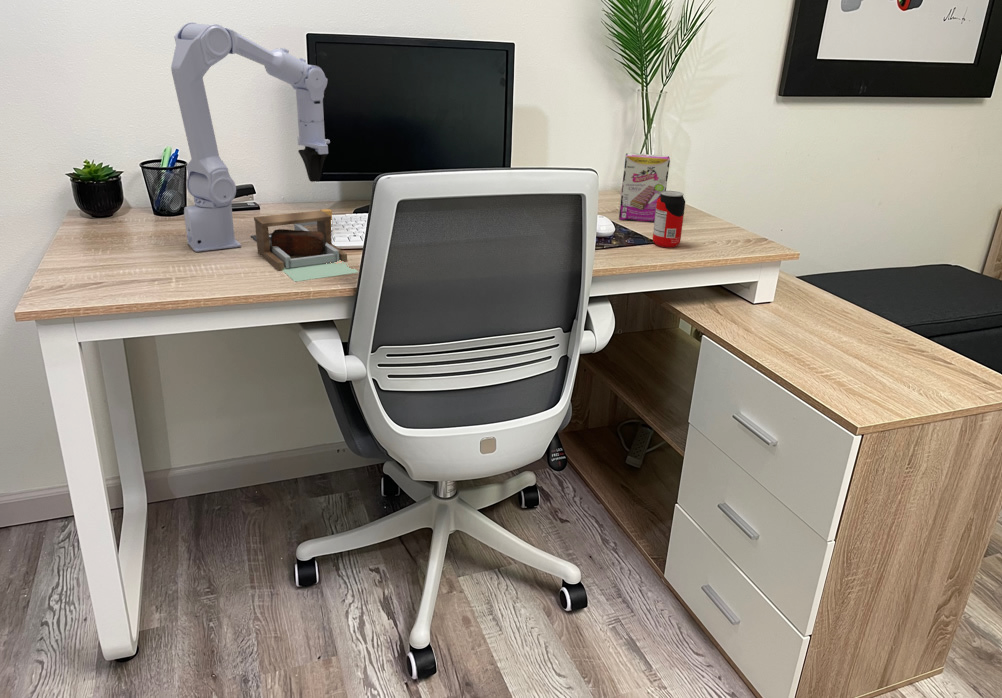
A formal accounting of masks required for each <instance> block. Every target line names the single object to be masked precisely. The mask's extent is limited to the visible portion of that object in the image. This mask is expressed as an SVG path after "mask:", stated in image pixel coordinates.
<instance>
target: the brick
mask: <svg viewBox="0 0 1002 698" xmlns="http://www.w3.org/2000/svg"><path fill="white" fill-rule="evenodd" d="M271 233H272V234H271V243H272V244H271V246H277V247H279V248H280V249H281V250H282V251H284V252H285V253H286V254H287V255H289V256H290V257H291V256H292V257H293V256H294V257H309V256H317V255H324V254H323V253H324V252H325V244H326V238H325V236H324V234H323V233H322V232H319V231H317V230H309V231H301V230H300V231H297V230H294V229H287V228H286V229H281V228H279V229H274V230H273V232H271Z"/></svg>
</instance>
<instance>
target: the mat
mask: <svg viewBox="0 0 1002 698" xmlns="http://www.w3.org/2000/svg"><path fill="white" fill-rule="evenodd" d="M331 263H332V264H331ZM331 263H327V264H326V263H323V264H315V265H308V266H301V267H293V268H285V267H284V270H281V271H282V272H283V273H284V274H285V275H286V274H287V277H288V278H290V279H291V280H292V281H293V282H295V283H297V282H298V281H299V282H304V281H311V279H312V280H318V279H325V278H333V277H337V276H339V277H340V276H346V275H352V274H358V271H359V270H358V269H356V268H354V269H351V268H349V266H348V267H347V265H348V264H349V263H347V262H346V263H347V265H346V263H344V262H342V264H341V263H338V264H336V263H334V262H331ZM343 263H344V264H343ZM340 264H341V265H340Z"/></svg>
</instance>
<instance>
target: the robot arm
mask: <svg viewBox="0 0 1002 698" xmlns="http://www.w3.org/2000/svg"><path fill="white" fill-rule="evenodd" d="M174 41H175V42H174V43H175V49H174V52H173V57H172V62H171V66H170V71H171V76H172V79H173V83H174V87H175V91H176V98H177V101H178V106H179V111H180V115H181V119H182V124H183V127H184V132H185V137H186V140H187V145H188V150H189V153H190V158H191V159H190V161H189V162H188V163H187V165H186V170H187V171H186V172H187V178H186V181H185V183H186V189H187V192H188V193H189V195H191V196H192V197H193V202H194V204H193V205H189V206H185V207H184V208H183V209H184V210H183V215H184V223H185V224H184V225H185V231H186V243H187V244H188V246H189V247H190V248H191V249H192V250H193V251H194V252H196V253H198V252H206V251H214V250H222V249H231V248H240V247H242V244H241V243H240V242H239V241H238V240H237V239H236V238H235V237H236V236H235V230H234V229H235V228H234V220H233V209H232V205H233V204H232V203H233V200H234V199H235V198H236V194H237V185H236V183H235V181H234V180H233V178H232V177H231V175H230V173H229V168H228V166H227V165H226V164H225V162H224V161H223V160H222V159H221V157H220V154H219V150H218V144H217V140H216V133H215V131H214V126H213V121H212V116H211V112H210V107H209V101H208V98H207V93H206V87H205V83H204V76H205V75H206V73H207V72H208V71H209V70H210V68H211V67H213V66H214V65H216V64H217V63H219V62H220V61H221V60H223V59H225V58H226V57H227V56H228V55H229V54H230V55H235V54H236V55H239V56H240V57H243V58H245V59H247V60H250V61H252V62H255V63H257V64H259V65H263V66H264V69H265V71H266V73H267V74H268V75H270V76H272V77H273V78H276V79H278V80H280V81H282V82H284V83H286V84H288V85H290V86H291V87H292V88H293V90H295V94H296V97H295V98H296V110H297V111H296V113H297V125H298V136H297V145H298V146H301V147H302V146H303V147H304V149H299V150H298V154H299V155H300V157H301V159H302V161H303V164H304V167H305V170H306V175H307V177H308V180H309V182H312V183H313V182H320V181H321V176H322V171H323V165H324V163H325V160H326V158H327V156H328V154H329V146H328V145H329V144H330V143H331V141H330V139H328V138H327V139H326V136H325V134H326V132H325V120H324V116H325V115H324V98H325V95H324V94H325V90H326V88H327V85H328V80H329V79H328V78H327V77H326V75H325V72H324V71H323V69H322V68H321V67H320V66H318V65H314V64H308V62H307V60H306V59H305V58H302V57H300V58H297V57H296V56H294V55H292V54H290V53H289V52H290V51H289V50H288V49H286V48H285V47H284V48H283V47H280V48H273V49H271V50H269V49H267V48H265V47H264V46H262V45H261V44H258V43H257V42H255V41H253V40H251V39H249V38H248V37H246V36H244V35H242V34H241V33H238V32H237V31H235V30H234V29H230V28H227V27H223V26H222V25H220V24H219V23H218V24H215V23H211V24H208V23H207V24H205V23H196V22H187V23H185V24H183V25H182V27H180V29H179V30H178V31H177V32H176V33H175V35H174Z"/></svg>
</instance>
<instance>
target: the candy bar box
mask: <svg viewBox="0 0 1002 698" xmlns="http://www.w3.org/2000/svg"><path fill="white" fill-rule="evenodd" d="M670 162H671V159H670V155H662V154H660V155H659V154H647V153H646V154H645V153H636V152H634V153H633V152H626V153H625V155H624V164H623V165H624V167H623V174H622V183H621V193H620V202H619V211H618V212H619V213H618V217H619V218H618V220H619V221H633V222H647V223H654V222H655V213H656V204H657V199H658V197H659V196H660V194H661V192H662V191H667V187H668V177H669V171H670V170H669V169H670V164H671V163H670Z"/></svg>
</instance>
